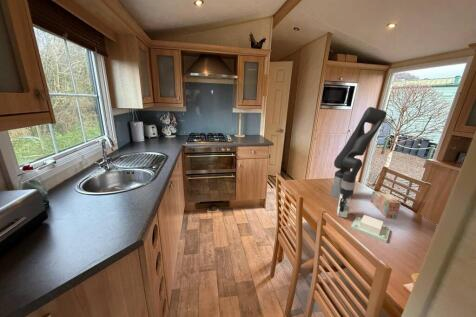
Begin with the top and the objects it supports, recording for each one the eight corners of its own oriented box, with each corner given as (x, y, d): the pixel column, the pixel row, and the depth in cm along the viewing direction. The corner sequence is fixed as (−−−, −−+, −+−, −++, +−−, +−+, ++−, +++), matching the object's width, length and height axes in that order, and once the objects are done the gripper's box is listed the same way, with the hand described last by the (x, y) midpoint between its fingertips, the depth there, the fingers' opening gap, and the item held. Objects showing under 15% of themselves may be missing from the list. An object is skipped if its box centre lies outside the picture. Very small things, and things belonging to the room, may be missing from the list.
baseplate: (350, 228, 117) (352, 220, 116) (356, 218, 127) (357, 211, 125) (386, 242, 106) (388, 234, 104) (389, 230, 115) (392, 222, 114)
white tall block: (345, 213, 132) (349, 194, 128) (347, 218, 127) (351, 199, 122) (336, 212, 134) (340, 193, 129) (337, 216, 128) (341, 197, 124)
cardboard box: (370, 201, 148) (373, 187, 144) (379, 202, 147) (382, 187, 143) (385, 218, 128) (390, 201, 124) (396, 219, 127) (401, 202, 123)
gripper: (344, 181, 131) (340, 203, 136) (337, 188, 121) (333, 211, 126) (356, 185, 126) (352, 207, 131) (350, 192, 116) (346, 215, 121)
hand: (343, 209), depth 129 cm, fingers closed on white tall block, 7 cm apart
